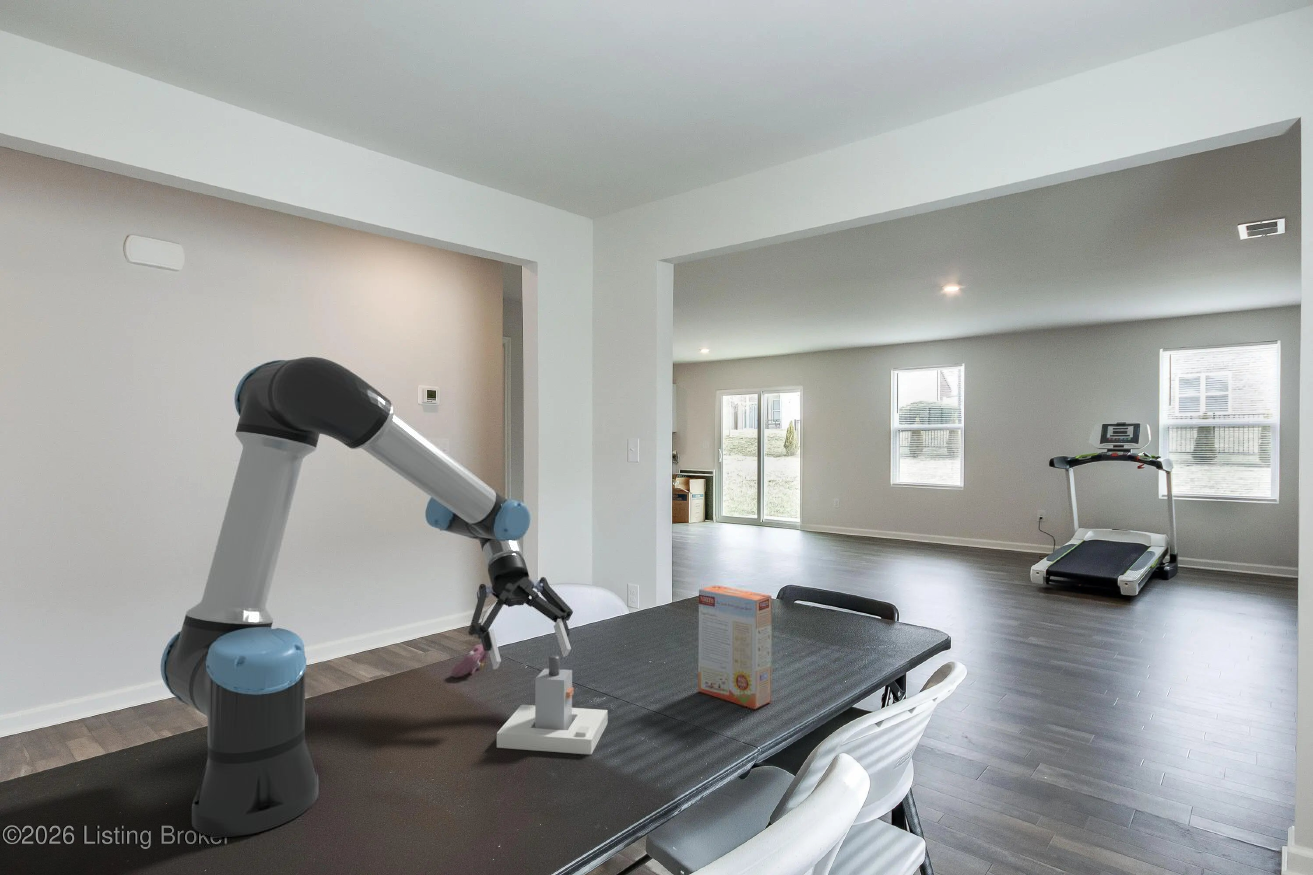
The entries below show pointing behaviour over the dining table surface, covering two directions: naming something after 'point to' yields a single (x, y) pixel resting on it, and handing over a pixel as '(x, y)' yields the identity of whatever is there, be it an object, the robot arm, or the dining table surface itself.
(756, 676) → the cracker box
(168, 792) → the dining table surface
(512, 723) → the socket plate
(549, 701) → the plug
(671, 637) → the dining table surface
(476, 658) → the video game controller
